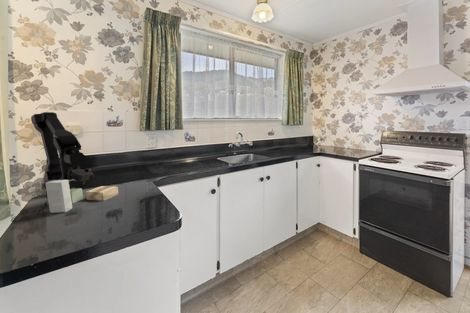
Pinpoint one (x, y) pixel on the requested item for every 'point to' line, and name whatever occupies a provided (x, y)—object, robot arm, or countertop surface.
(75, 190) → the sage cube
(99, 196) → the maple block
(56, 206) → the skincare box
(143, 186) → the countertop surface
